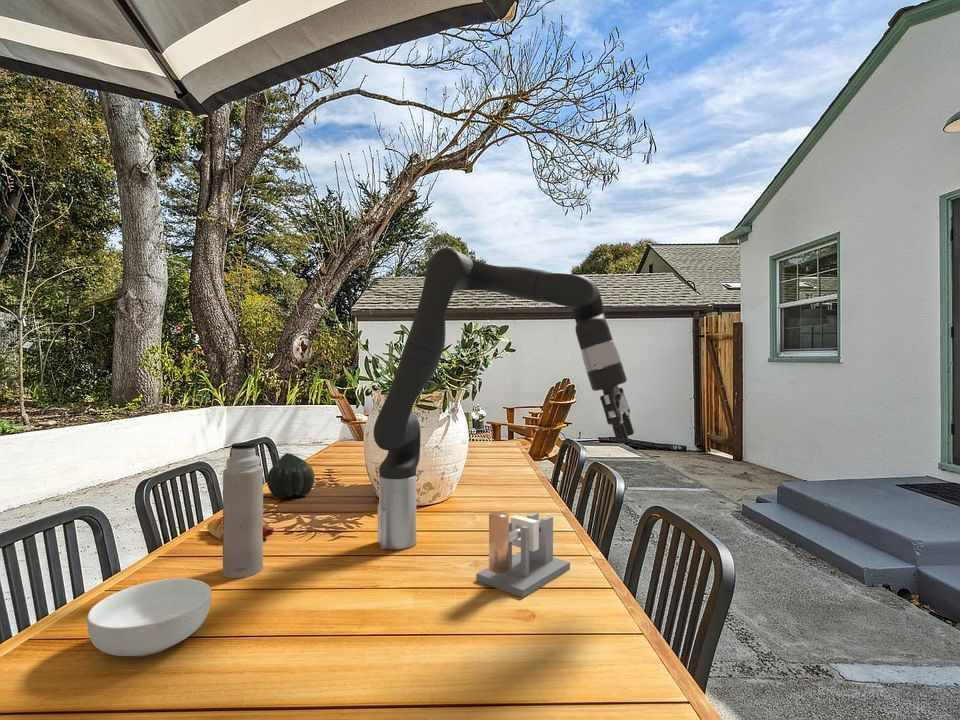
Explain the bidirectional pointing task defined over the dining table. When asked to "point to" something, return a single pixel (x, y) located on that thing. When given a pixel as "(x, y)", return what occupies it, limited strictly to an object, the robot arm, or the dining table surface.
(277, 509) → the dining table surface
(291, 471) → the squash
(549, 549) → the shaft bracket
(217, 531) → the croissant
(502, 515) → the shaft
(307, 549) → the dining table surface
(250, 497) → the thermos bottle
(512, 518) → the block
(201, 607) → the cereal bowl
